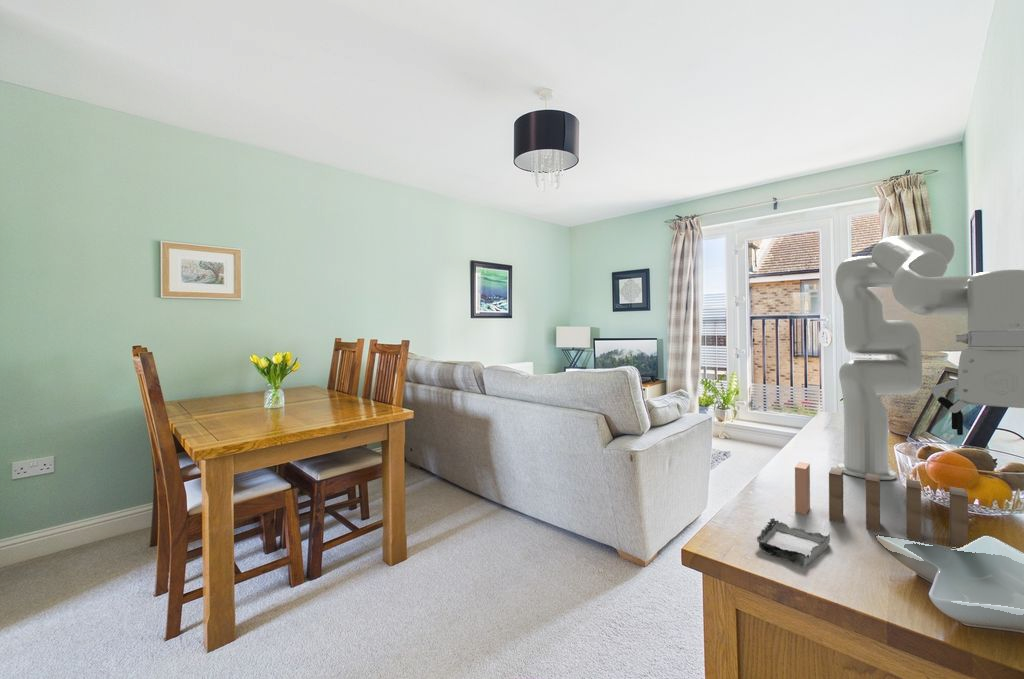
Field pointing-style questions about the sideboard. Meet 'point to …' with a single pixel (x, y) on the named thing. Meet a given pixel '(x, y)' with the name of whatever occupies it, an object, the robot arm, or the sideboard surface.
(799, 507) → the domino
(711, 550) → the sideboard surface
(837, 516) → the domino
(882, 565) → the sideboard surface
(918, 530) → the domino
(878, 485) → the domino
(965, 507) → the domino
